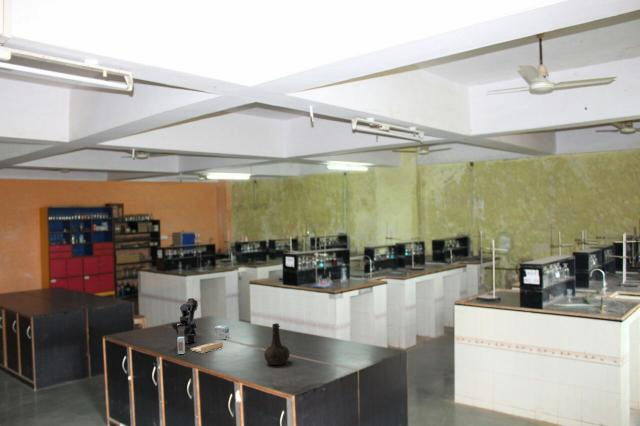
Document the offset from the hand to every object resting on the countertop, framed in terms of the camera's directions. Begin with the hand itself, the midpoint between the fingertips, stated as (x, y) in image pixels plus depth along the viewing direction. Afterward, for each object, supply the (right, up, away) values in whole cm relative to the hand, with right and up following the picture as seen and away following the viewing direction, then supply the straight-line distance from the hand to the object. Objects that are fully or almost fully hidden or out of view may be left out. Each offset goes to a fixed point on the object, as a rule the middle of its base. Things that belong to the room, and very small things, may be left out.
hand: (183, 334), depth 403 cm
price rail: (+24, -10, -3) cm, 26 cm away
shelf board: (+18, -13, +2) cm, 22 cm away
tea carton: (+1, -13, -8) cm, 16 cm away
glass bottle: (+78, -10, -44) cm, 91 cm away
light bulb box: (+24, -13, +36) cm, 45 cm away
